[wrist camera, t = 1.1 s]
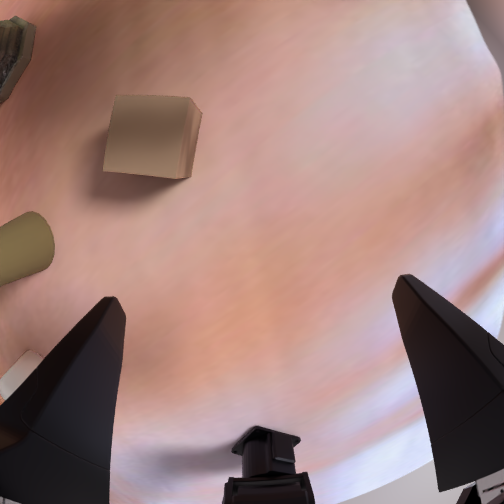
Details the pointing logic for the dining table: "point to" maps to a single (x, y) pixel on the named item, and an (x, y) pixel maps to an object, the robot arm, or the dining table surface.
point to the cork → (25, 247)
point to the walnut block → (152, 136)
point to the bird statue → (14, 52)
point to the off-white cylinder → (19, 372)
